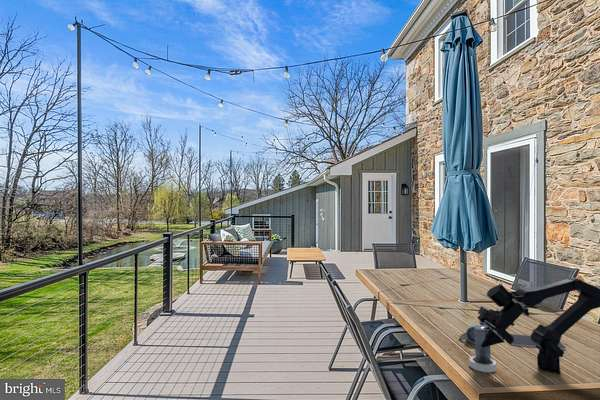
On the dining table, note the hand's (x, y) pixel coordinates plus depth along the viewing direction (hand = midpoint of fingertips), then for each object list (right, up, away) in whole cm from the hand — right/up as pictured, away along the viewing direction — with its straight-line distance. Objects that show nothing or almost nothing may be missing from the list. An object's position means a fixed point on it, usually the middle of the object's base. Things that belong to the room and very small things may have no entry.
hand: (478, 343), depth 136 cm
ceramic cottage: (+75, -12, +92) cm, 119 cm away
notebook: (+37, -10, +25) cm, 46 cm away
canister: (+1, -7, 0) cm, 7 cm away
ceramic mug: (+11, -10, +27) cm, 31 cm away
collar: (+1, -9, 0) cm, 9 cm away
